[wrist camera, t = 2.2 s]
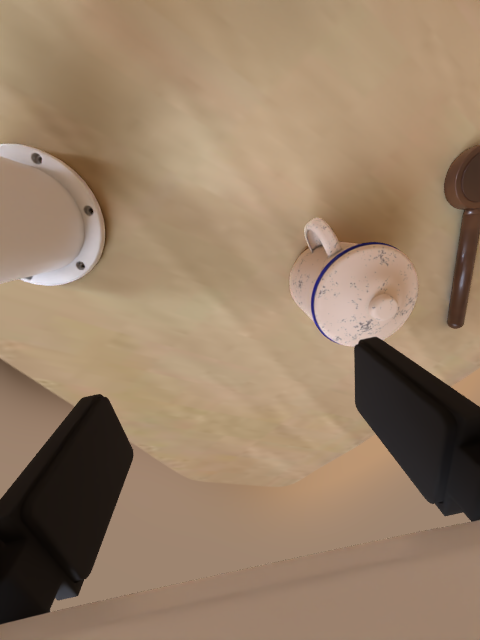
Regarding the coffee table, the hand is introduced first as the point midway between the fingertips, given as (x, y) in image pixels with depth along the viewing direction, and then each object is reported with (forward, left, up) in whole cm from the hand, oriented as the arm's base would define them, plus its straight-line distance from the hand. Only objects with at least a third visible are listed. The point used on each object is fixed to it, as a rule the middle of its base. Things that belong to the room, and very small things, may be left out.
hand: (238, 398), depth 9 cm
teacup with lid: (+11, 0, -20) cm, 23 cm away
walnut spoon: (+28, 0, -20) cm, 34 cm away
